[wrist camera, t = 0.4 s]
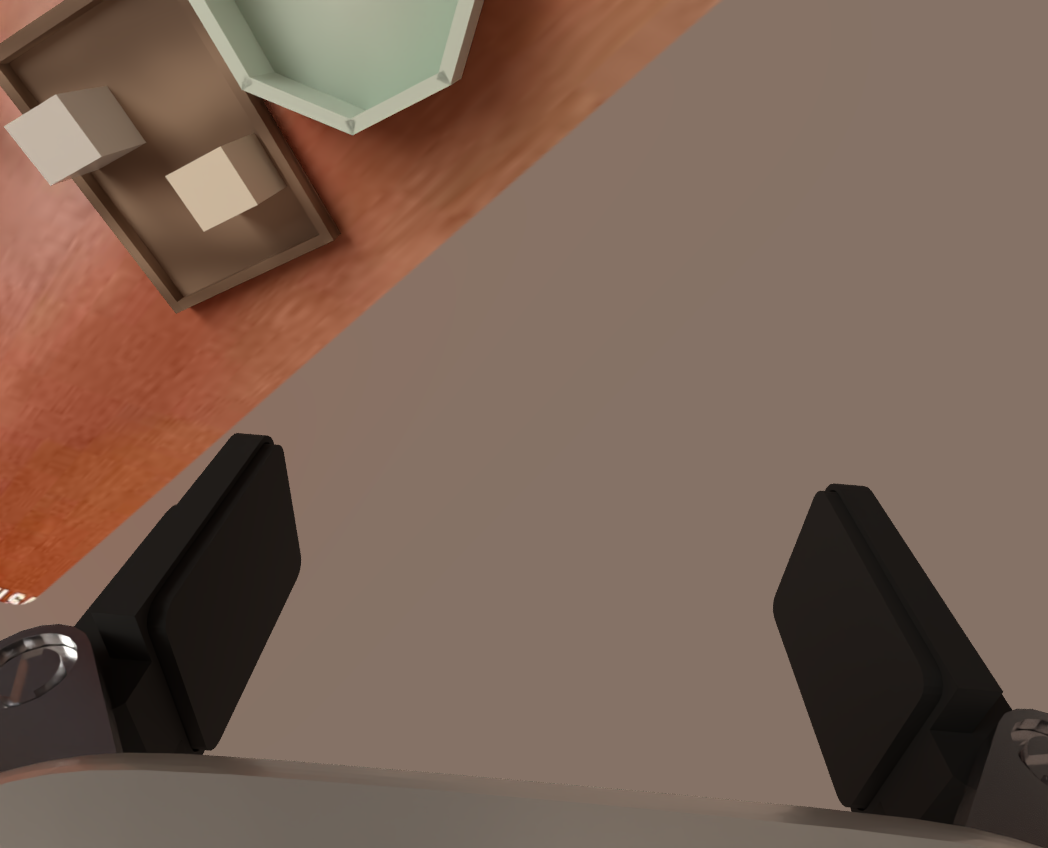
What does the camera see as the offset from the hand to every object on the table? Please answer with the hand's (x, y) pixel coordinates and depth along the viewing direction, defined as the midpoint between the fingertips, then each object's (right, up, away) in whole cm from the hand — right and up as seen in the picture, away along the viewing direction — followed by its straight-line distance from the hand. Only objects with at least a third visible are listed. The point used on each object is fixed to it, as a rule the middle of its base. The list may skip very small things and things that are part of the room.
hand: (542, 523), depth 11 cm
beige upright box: (-19, +18, +31) cm, 41 cm away
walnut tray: (-23, +20, +31) cm, 44 cm away
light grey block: (-28, +21, +30) cm, 46 cm away
